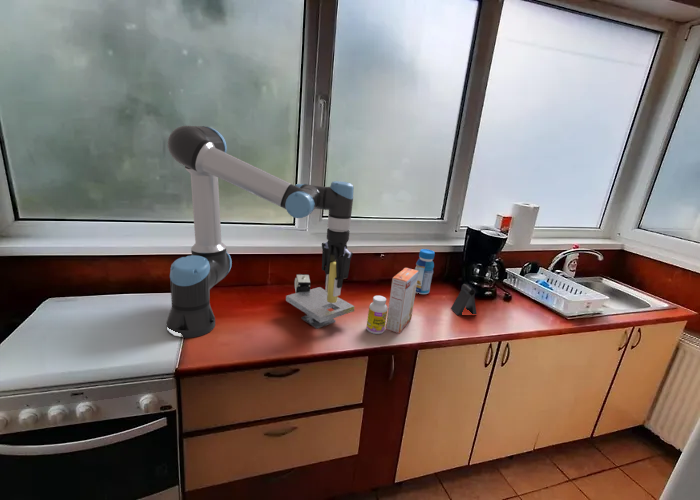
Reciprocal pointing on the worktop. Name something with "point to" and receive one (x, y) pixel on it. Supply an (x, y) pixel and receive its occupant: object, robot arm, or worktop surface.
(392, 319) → the cracker box
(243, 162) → the robot arm
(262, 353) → the worktop surface
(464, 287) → the phone stand
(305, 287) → the pneumatic valve
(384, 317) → the supplement bottle
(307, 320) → the gray slab
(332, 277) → the pin
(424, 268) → the beverage bottle
